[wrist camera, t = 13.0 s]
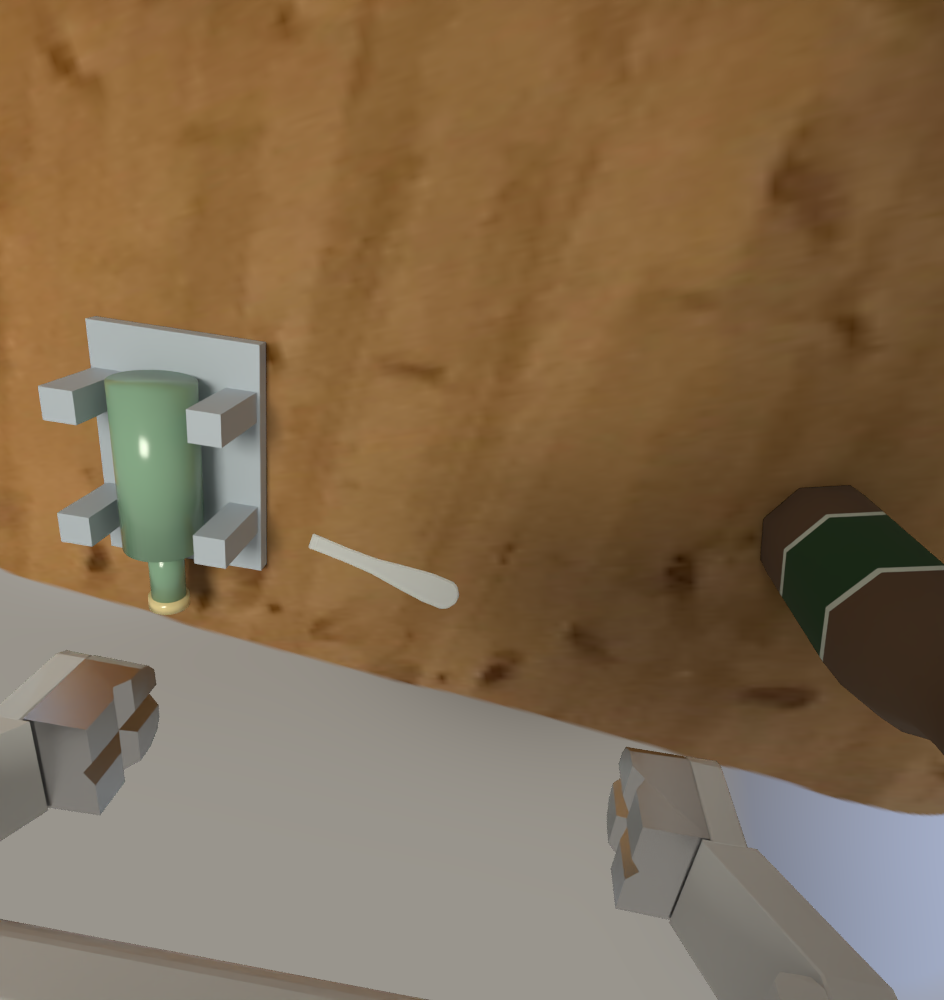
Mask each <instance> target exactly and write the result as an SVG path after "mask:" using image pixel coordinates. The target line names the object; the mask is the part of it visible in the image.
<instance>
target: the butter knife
mask: <svg viewBox="0 0 944 1000" xmlns="http://www.w3.org/2000/svg"><path fill="white" fill-rule="evenodd" d="M309 548H311V549H313V550H314V549H315V550H316V551H318V552H321V553H323V554H326V555H328V556H331V557H334V558H336V559H339V560H341V561H344V562H346V563H349V564H351V565H353V566H355V567H358V568H360V569H362V570H364V571H367V572H369V573H371V574H373V575H375V576H377V577H378V578H380V579H382V580H384V581H385V582H387V583H389V584H391V585H393V586H394V587H396V588H398V589H400V590H402V591H404V592H405V593H407V594H409V595H411V596H413V597H415V598H417V599H418V600H420V601H423V602H425V603H428V604H430V605H432V606H435V607H437V608H440V609H444V608H449V607H451V606H452V605H454V604H455V603H456V602H457V599H458V597H459V592H458V587H457V586H456V585H455V583H454V582H452V581H450V580H447V579H445V578H442V577H440V576H438V575H435V574H433V573H429V572H426V571H422V570H418V569H415V568H411V567H407V566H403V565H400V564H396V563H392V562H388V561H384V560H380V559H377V558H374V557H371V556H368V555H366V554H363V553H360V552H357V551H355V550H352V549H349V548H347V547H345V546H342V545H340V544H337V543H335V542H333V541H330V540H328V539H326V538H323V537H321V536H318V535H316V534H313V536H312V538H311V541H310V544H309Z"/></svg>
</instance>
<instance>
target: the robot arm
mask: <svg viewBox="0 0 944 1000" xmlns="http://www.w3.org/2000/svg"><path fill="white" fill-rule="evenodd" d="M155 686H156V679H155V672H154V669H153V668H151V667H149V666H147V665H142V664H136V663H131V662H127V661H122V660H117V659H111V658H106V657H101V656H96V655H93V656H92V655H87V654H82V653H78V652H72V651H68V650H66V651H63V652H60V653H57V654H56V655H54V656H53V657H52V658H51V659H50V660H49V661H48V662H47V663H46V664H44V665H43V666H42V667H41V668H40V669H39V670H38V671H37V672H36V673H34V674H33V675H32V676H31V677H30V678H29V679H28V680H26V681H25V682H24V683H23V684H22V685H21V686H20V687H19V688H18V689H16V691H14V692H13V693H12V694H11V695H10V696H9V697H8V698H6V699H5V700H4V701H3V702H2V703H1V704H0V841H1V840H3V839H5V838H6V837H8V836H9V835H11V834H12V833H14V832H15V831H17V830H18V829H20V828H22V827H23V826H25V825H26V824H28V823H29V822H31V821H33V820H34V819H36V818H37V817H39V816H40V815H42V814H43V813H45V812H46V811H47V810H48V808H55V809H61V810H68V811H75V812H81V813H88V814H95V815H101V813H102V812H103V811H104V809H105V808H106V807H107V805H108V804H109V803H110V801H111V800H112V799H113V797H114V796H115V795H116V793H117V792H118V791H119V789H120V788H121V786H122V785H123V784H124V782H125V777H124V769H125V768H128V767H129V766H131V765H133V764H135V763H137V762H139V761H140V760H141V759H142V758H143V756H144V755H145V754H146V752H147V751H148V749H149V748H150V746H151V744H152V741H153V739H154V737H155V734H156V732H157V728H158V722H159V706H158V704H157V703H156V701H155V700H154V699H153V698H152V696H151V695H150V694H149V693H150V692H151V691H152V689H153V688H154V687H155ZM619 770H620V779H619V780H617V781H616V782H614V783H613V785H612V789H611V793H610V796H609V802H608V811H607V834H608V843H609V845H610V846H611V847H612V849H613V850H614V851H615V852H616V854H615V857H614V861H613V863H612V867H611V873H612V882H613V891H614V900H615V908H616V909H621V910H625V911H630V912H635V913H640V914H645V915H649V916H654V917H659V918H664V919H668V920H670V922H669V923H670V925H671V926H672V928H673V929H674V931H675V932H676V934H677V936H678V937H679V939H680V941H681V942H682V944H683V945H684V947H685V948H686V950H687V952H688V953H689V955H690V956H691V958H692V959H693V961H694V962H695V964H696V966H697V967H698V969H699V970H700V972H701V974H702V975H703V977H704V978H705V980H706V981H707V983H708V985H709V986H710V988H711V989H712V991H713V992H714V994H715V995H716V997H717V999H718V1000H898V999H897V997H896V995H895V993H894V991H893V989H892V988H891V987H890V986H889V985H888V984H887V983H886V982H885V981H884V980H883V979H882V978H881V977H880V976H879V975H878V974H877V973H876V972H875V971H874V970H873V969H872V968H871V967H870V966H869V964H868V963H867V962H865V960H864V959H863V958H862V957H861V956H860V955H859V954H858V953H857V952H856V951H855V950H854V949H853V948H852V947H851V946H850V945H849V944H848V943H847V942H846V941H845V940H844V939H843V938H842V937H841V936H840V935H839V934H838V933H837V932H836V930H835V929H834V928H833V927H832V926H831V925H830V924H829V923H828V922H827V921H826V920H825V919H824V918H823V917H822V916H821V915H820V914H819V913H818V912H817V911H816V910H815V909H814V908H813V907H812V906H811V905H810V904H809V902H808V901H807V900H806V899H804V898H803V896H802V895H801V894H800V893H799V892H798V891H797V890H796V889H795V888H794V887H793V886H792V885H791V884H790V883H789V882H788V881H787V880H786V879H785V878H784V877H783V876H782V875H781V874H780V873H779V871H777V869H776V868H775V867H774V866H773V865H772V864H771V863H770V862H769V861H768V860H767V859H766V858H765V857H764V856H763V855H762V854H761V853H760V852H759V851H758V850H757V849H753V848H748V847H747V844H746V841H745V838H744V835H743V832H742V829H741V826H740V823H739V820H738V817H737V814H736V811H735V808H734V805H733V802H732V799H731V796H730V793H729V790H728V787H727V784H726V781H725V778H724V775H723V772H722V769H721V766H720V765H719V764H718V763H717V761H713V760H706V759H700V758H693V757H687V756H686V757H683V756H679V755H673V754H666V753H660V752H654V751H648V750H642V749H635V748H629V747H626V748H625V749H624V751H623V752H622V755H621V758H620V762H619ZM0 1000H428V999H423V998H417V997H412V996H406V995H400V994H396V993H390V992H385V991H379V990H374V989H369V988H363V987H358V986H353V985H347V984H342V983H337V982H331V981H326V980H320V979H315V978H310V977H305V976H300V975H294V974H289V973H283V972H278V971H273V970H268V969H263V968H257V967H252V966H247V965H242V964H236V963H231V962H225V961H220V960H214V959H210V958H205V957H199V956H194V955H188V954H183V953H178V952H173V951H167V950H162V949H157V948H152V947H147V946H141V945H136V944H131V943H125V942H120V941H115V940H109V939H103V938H99V937H93V936H88V935H83V934H77V933H71V932H67V931H62V930H56V929H51V928H45V927H40V926H35V925H30V924H24V923H19V922H14V921H8V920H3V919H0Z"/></svg>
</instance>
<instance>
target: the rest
mask: <svg viewBox="0 0 944 1000" xmlns="http://www.w3.org/2000/svg"><path fill="white" fill-rule="evenodd" d="M85 320H86V328H87V337H88V345H89V354H90V363H91V368H90V369H87V370H84V371H81V372H78V373H75V374H72V375H69V376H66V377H63V378H60V379H57V380H54V381H51V382H48V383H45V384H42V385H40V386H38V390H39V396H40V403H41V410H42V416H43V420H47V421H53V422H60V423H66V424H72V425H78V424H80V423H82V422H85V421H87V420H89V419H91V418H94V417H96V416H97V423H98V432H99V440H100V449H101V458H102V466H103V475H104V485H102V486H100V487H99V488H97V489H95V490H94V491H92V492H91V493H89V494H87V495H86V496H84V497H82V498H81V499H79V500H77V501H76V502H74V503H73V504H71V505H69V506H68V507H66V508H64V509H63V510H61V511H60V512H58V513H57V515H58V522H59V528H60V535H61V541H62V542H68V543H74V544H80V545H86V546H94V545H95V544H96V543H98V542H99V541H100V540H102V539H103V538H105V537H106V536H107V535H109V534H110V535H111V544H112V546H117V547H122V539H121V530H120V521H119V512H118V503H117V494H116V485H115V476H114V467H113V457H112V448H111V439H110V430H109V421H108V412H107V403H106V394H105V385H104V379H105V378H106V377H107V376H109V375H112V374H115V373H119V372H124V371H132V370H166V371H173V372H180V373H184V374H188V375H190V376H193V377H195V378H196V379H197V380H198V390H199V402H198V403H196V404H194V405H193V406H191V407H189V408H187V409H186V422H187V440H188V443H192V444H198V445H201V451H202V472H203V492H204V513H205V525H204V526H202V527H201V528H200V529H199V530H198V531H197V532H196V533H195V534H194V535H193V547H194V555H192V556H190V557H187V558H189V559H194V564H200V565H206V566H212V567H218V568H224V569H226V568H227V567H228V566H229V565H231V566H237V567H243V568H249V569H255V570H262V569H263V567H264V566H265V565H266V564H267V543H266V342H262V341H255V340H249V339H242V338H236V337H229V336H222V335H216V334H209V333H203V332H196V331H190V330H183V329H176V328H170V327H163V326H157V325H150V324H143V323H137V322H130V321H124V320H117V319H111V318H104V317H97V316H94V317H90V318H86V319H85Z"/></svg>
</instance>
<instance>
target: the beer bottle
mask: <svg viewBox="0 0 944 1000" xmlns="http://www.w3.org/2000/svg"><path fill="white" fill-rule="evenodd" d="M761 561H762V564H763V566H764V568H765V570H766V572H767V574H768V575H769V577H770V578H771V580H772V582H773V583H774V585H775V586H776V588H777V590H778V591H779V593H780V594H781V596H782V598H783V599H784V601H785V602H786V604H787V606H788V607H789V609H790V610H791V612H792V613H793V615H794V617H795V618H796V620H797V621H798V623H799V625H800V626H801V628H802V629H803V631H804V633H805V634H806V636H807V637H808V639H809V641H810V642H811V644H812V645H813V647H814V648H815V650H816V652H817V653H818V655H819V656H820V658H821V660H822V661H823V663H824V664H825V665H826V666H827V668H828V669H829V670H830V671H831V673H832V674H833V675H834V677H835V678H836V679H837V680H838V682H839V683H840V684H841V685H842V686H843V687H845V688H846V689H847V690H848V691H849V692H851V693H852V694H853V695H854V696H855V697H857V698H858V699H859V700H860V701H861V702H863V703H864V704H865V705H866V706H867V707H869V708H870V709H871V710H872V711H874V712H875V713H876V714H877V715H878V716H880V717H881V718H882V719H884V720H885V721H887V722H888V723H890V724H891V725H893V726H894V727H896V728H897V729H899V730H900V731H902V732H905V733H908V734H912V735H915V736H919V737H922V738H925V739H929V740H931V741H932V742H933V743H934V744H935V745H936V746H937V747H938V749H939V750H940V751H941V752H942V753H943V755H944V564H943V563H942V562H941V561H939V560H938V559H937V558H936V557H935V556H934V555H933V554H931V553H930V552H929V551H928V550H927V549H926V548H924V547H923V546H922V545H921V544H920V543H919V542H918V541H916V540H915V539H914V538H913V537H912V536H911V535H910V534H908V533H907V532H906V531H905V530H904V529H903V528H901V527H900V526H899V525H898V524H897V523H896V522H895V521H893V520H892V519H891V518H890V517H889V516H888V515H886V514H885V513H884V512H883V511H882V510H881V509H880V508H878V507H877V506H876V505H875V504H874V503H873V502H872V501H870V500H869V499H868V498H867V497H866V496H865V495H863V494H862V493H860V492H859V491H858V490H856V489H855V488H853V487H852V486H851V485H848V486H830V487H812V488H799V489H798V490H797V491H795V492H794V493H793V494H792V495H791V496H790V497H788V498H787V499H786V500H785V501H784V502H783V503H781V504H780V505H779V506H778V507H777V508H776V509H774V510H773V511H772V512H771V513H770V514H768V515H767V516H766V517H765V518H764V522H763V534H762V547H761Z"/></svg>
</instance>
